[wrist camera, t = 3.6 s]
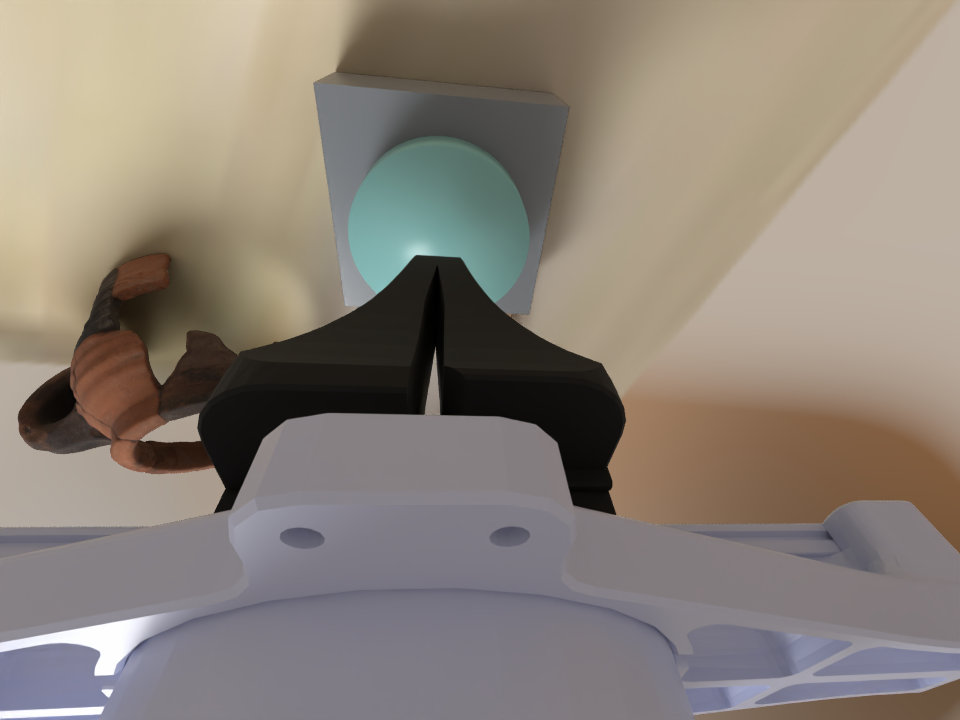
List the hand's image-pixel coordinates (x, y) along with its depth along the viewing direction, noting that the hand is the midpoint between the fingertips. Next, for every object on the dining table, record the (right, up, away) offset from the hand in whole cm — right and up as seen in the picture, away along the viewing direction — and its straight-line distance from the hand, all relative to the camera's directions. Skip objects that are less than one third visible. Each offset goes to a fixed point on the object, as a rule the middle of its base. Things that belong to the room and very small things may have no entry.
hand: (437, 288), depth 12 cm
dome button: (0, +5, +5) cm, 7 cm away
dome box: (0, +5, +6) cm, 8 cm away
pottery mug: (-14, -1, +11) cm, 18 cm away
